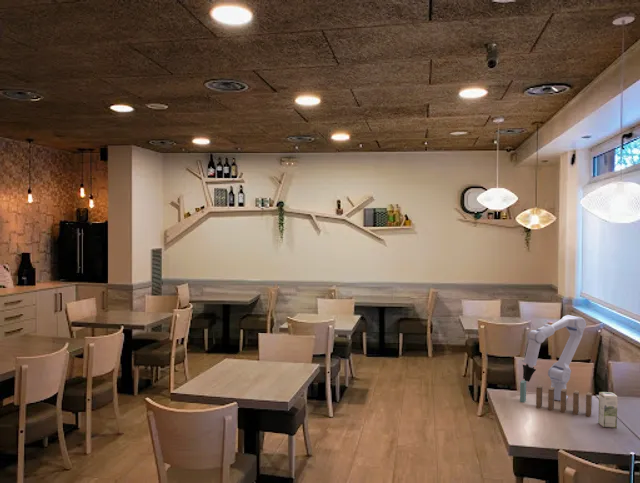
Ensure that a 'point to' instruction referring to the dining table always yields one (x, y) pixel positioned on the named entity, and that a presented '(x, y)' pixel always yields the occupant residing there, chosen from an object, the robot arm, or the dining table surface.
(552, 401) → the domino
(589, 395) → the domino
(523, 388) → the domino
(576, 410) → the domino
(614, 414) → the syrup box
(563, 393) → the domino
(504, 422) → the dining table surface
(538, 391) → the domino
